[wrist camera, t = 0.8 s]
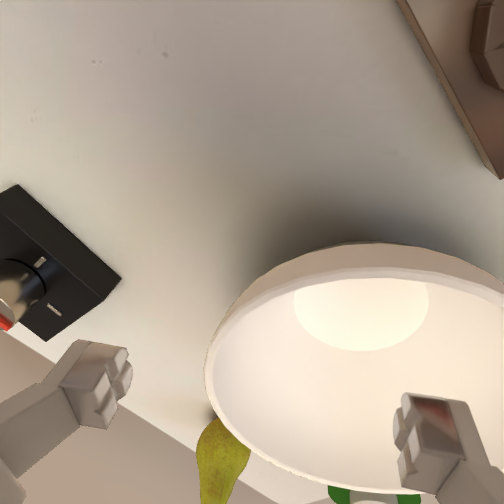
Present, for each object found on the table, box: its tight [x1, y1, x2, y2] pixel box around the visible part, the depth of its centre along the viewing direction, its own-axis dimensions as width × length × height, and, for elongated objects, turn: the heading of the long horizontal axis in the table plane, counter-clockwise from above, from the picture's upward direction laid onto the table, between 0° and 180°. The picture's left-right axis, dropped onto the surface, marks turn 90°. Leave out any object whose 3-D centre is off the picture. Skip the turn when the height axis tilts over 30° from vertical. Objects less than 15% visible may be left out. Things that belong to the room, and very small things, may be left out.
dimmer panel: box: [0, 184, 121, 342], centre depth 31 cm, size 11×10×3 cm
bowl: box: [203, 241, 504, 494], centre depth 24 cm, size 20×20×10 cm
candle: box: [328, 485, 421, 504], centre depth 33 cm, size 8×8×10 cm
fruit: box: [196, 418, 251, 504], centre depth 35 cm, size 6×6×12 cm
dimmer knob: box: [0, 260, 45, 331], centre depth 28 cm, size 4×4×4 cm
